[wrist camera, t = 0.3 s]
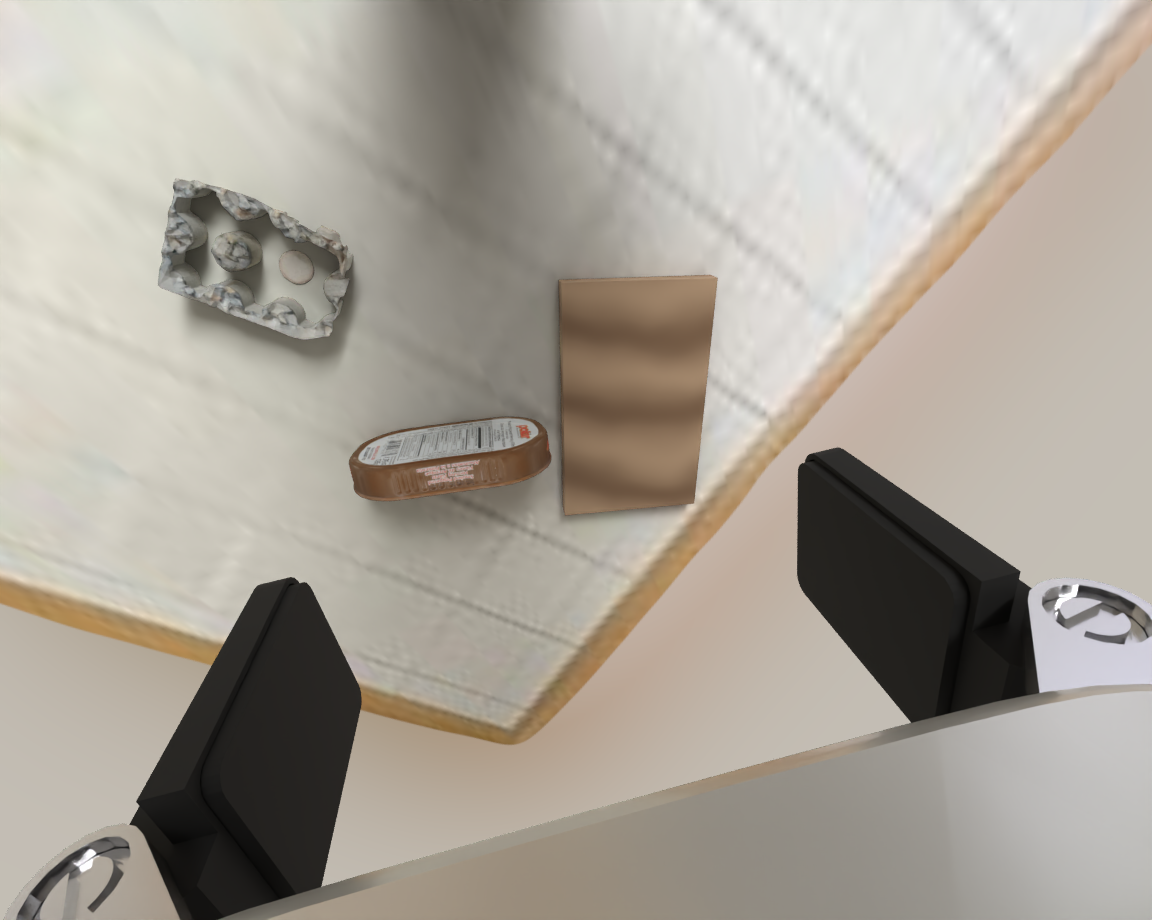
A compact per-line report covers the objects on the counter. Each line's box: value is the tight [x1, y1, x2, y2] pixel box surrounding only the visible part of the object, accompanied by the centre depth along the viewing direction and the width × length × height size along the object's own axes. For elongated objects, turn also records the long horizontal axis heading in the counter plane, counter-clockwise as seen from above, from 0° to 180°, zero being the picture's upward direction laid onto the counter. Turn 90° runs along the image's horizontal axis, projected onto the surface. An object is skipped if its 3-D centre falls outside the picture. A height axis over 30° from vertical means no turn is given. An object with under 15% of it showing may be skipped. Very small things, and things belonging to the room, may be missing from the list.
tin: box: [349, 417, 551, 501], centre depth 43 cm, size 15×3×8 cm, turn 95°
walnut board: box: [559, 275, 718, 515], centre depth 47 cm, size 20×12×2 cm, turn 1°
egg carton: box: [158, 179, 353, 339], centre depth 37 cm, size 11×8×4 cm
